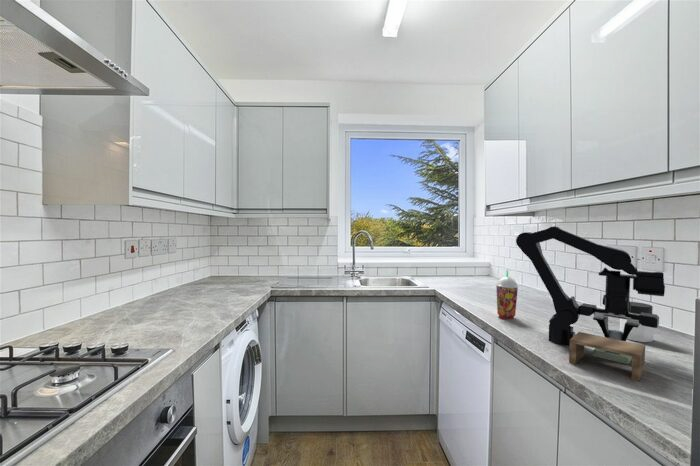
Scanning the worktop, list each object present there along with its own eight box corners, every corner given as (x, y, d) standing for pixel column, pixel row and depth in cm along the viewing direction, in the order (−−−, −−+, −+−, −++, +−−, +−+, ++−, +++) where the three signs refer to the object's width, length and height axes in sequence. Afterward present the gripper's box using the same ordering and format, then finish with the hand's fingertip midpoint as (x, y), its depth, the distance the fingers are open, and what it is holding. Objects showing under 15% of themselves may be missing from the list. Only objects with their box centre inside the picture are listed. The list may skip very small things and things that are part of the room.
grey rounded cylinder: (607, 346, 102) (607, 331, 102) (609, 343, 104) (609, 329, 104) (621, 349, 99) (622, 334, 99) (623, 346, 102) (623, 331, 102)
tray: (593, 358, 99) (593, 349, 99) (601, 348, 108) (602, 340, 107) (628, 367, 93) (628, 357, 93) (634, 355, 102) (634, 347, 102)
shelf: (568, 365, 94) (569, 339, 94) (578, 355, 101) (579, 331, 101) (639, 384, 83) (640, 355, 83) (644, 372, 90) (645, 345, 90)
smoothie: (492, 314, 147) (494, 268, 146) (513, 315, 145) (514, 269, 145) (498, 319, 138) (499, 271, 138) (520, 320, 137) (521, 272, 137)
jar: (653, 338, 118) (654, 304, 117) (652, 344, 112) (654, 308, 111) (620, 332, 124) (621, 300, 123) (618, 338, 118) (619, 303, 117)
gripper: (661, 292, 100) (659, 344, 101) (586, 284, 114) (585, 329, 114) (658, 298, 92) (655, 354, 93) (578, 288, 106) (576, 337, 106)
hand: (615, 342), depth 102 cm, fingers closed on grey rounded cylinder, 3 cm apart
